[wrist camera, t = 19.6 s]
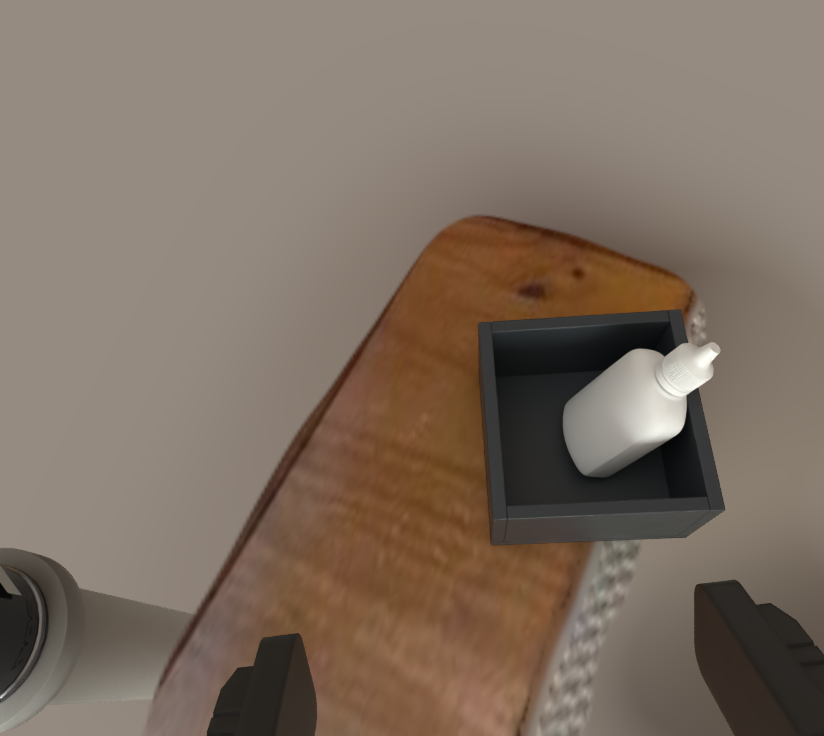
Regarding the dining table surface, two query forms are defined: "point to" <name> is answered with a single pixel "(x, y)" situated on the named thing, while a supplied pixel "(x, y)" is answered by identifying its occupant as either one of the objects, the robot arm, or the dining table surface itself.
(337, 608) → the dining table surface
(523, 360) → the bin
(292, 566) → the dining table surface
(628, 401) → the eye dropper bottle
